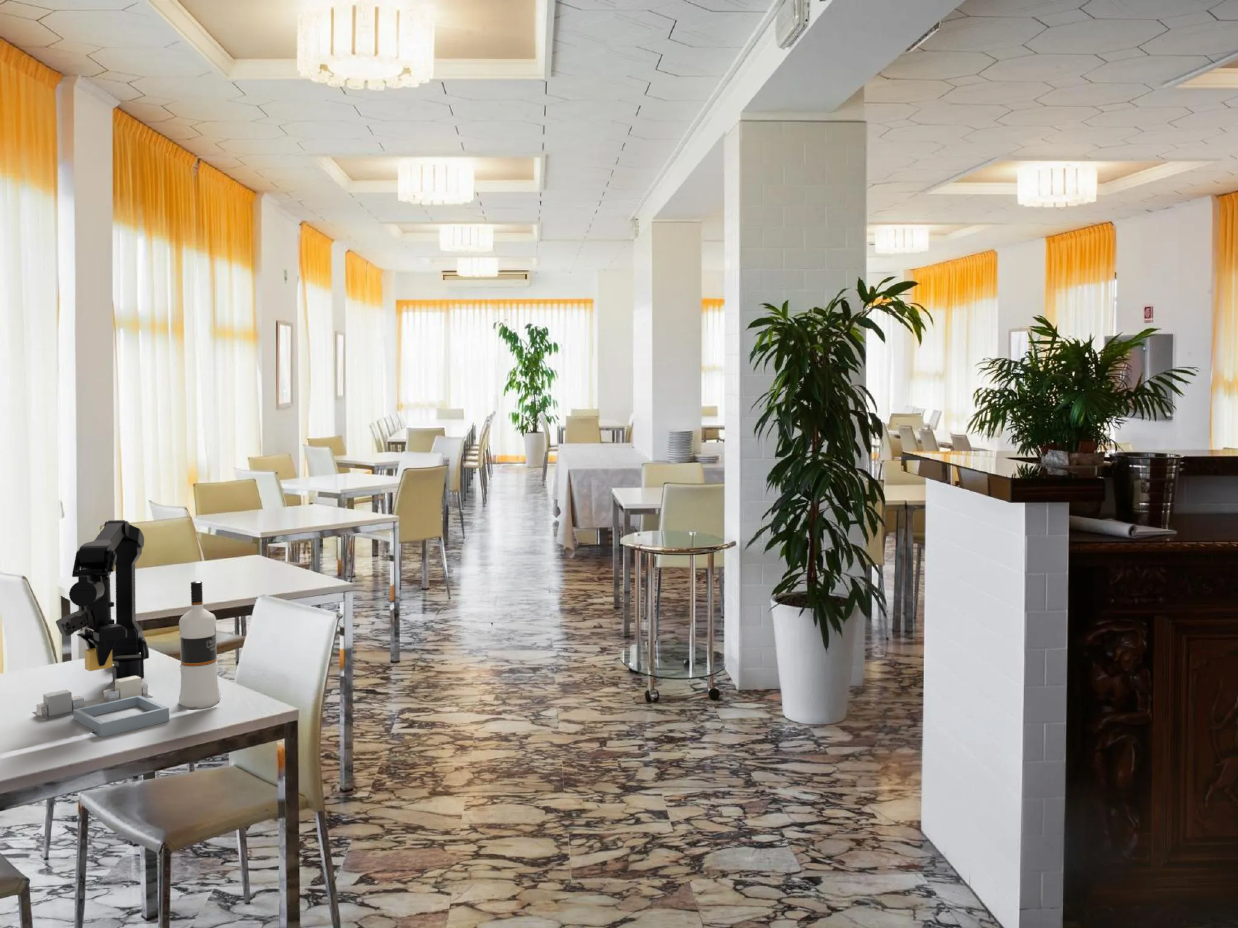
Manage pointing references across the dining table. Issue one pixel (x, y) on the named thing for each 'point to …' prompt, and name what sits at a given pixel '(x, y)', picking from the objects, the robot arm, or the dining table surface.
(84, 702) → the board
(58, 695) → the block
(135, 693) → the block
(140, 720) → the tray
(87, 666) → the block
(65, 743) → the dining table surface
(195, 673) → the vodka
